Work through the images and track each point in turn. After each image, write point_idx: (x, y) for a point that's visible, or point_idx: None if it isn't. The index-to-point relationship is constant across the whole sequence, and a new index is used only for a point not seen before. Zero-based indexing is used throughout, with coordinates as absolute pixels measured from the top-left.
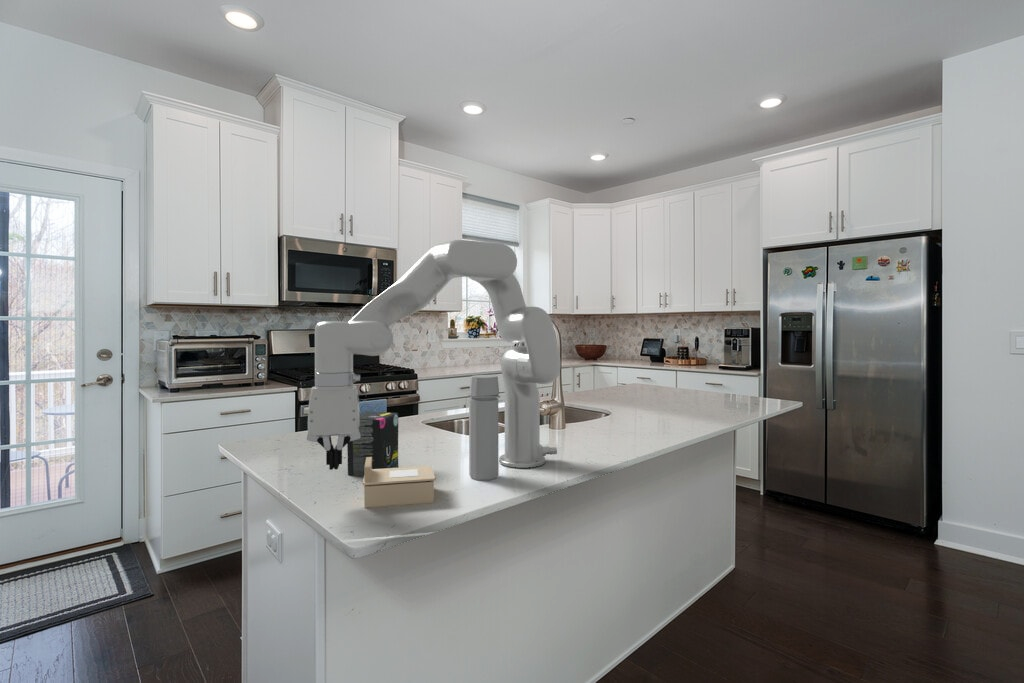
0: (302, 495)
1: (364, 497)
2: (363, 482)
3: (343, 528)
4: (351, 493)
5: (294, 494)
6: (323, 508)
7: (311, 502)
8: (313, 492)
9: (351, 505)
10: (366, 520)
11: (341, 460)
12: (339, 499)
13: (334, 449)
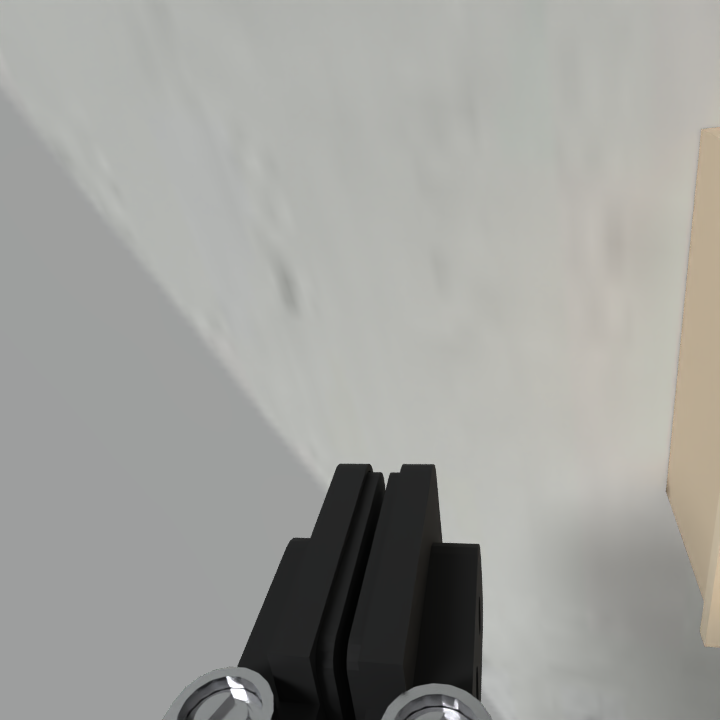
0: (125, 98)
1: (687, 553)
2: (713, 624)
3: (547, 687)
4: (544, 96)
5: (50, 61)
6: (376, 410)
7: (258, 281)
8: (183, 19)
9: (566, 394)
10: (673, 636)
11: (481, 633)
12: (455, 249)
13: (338, 653)
